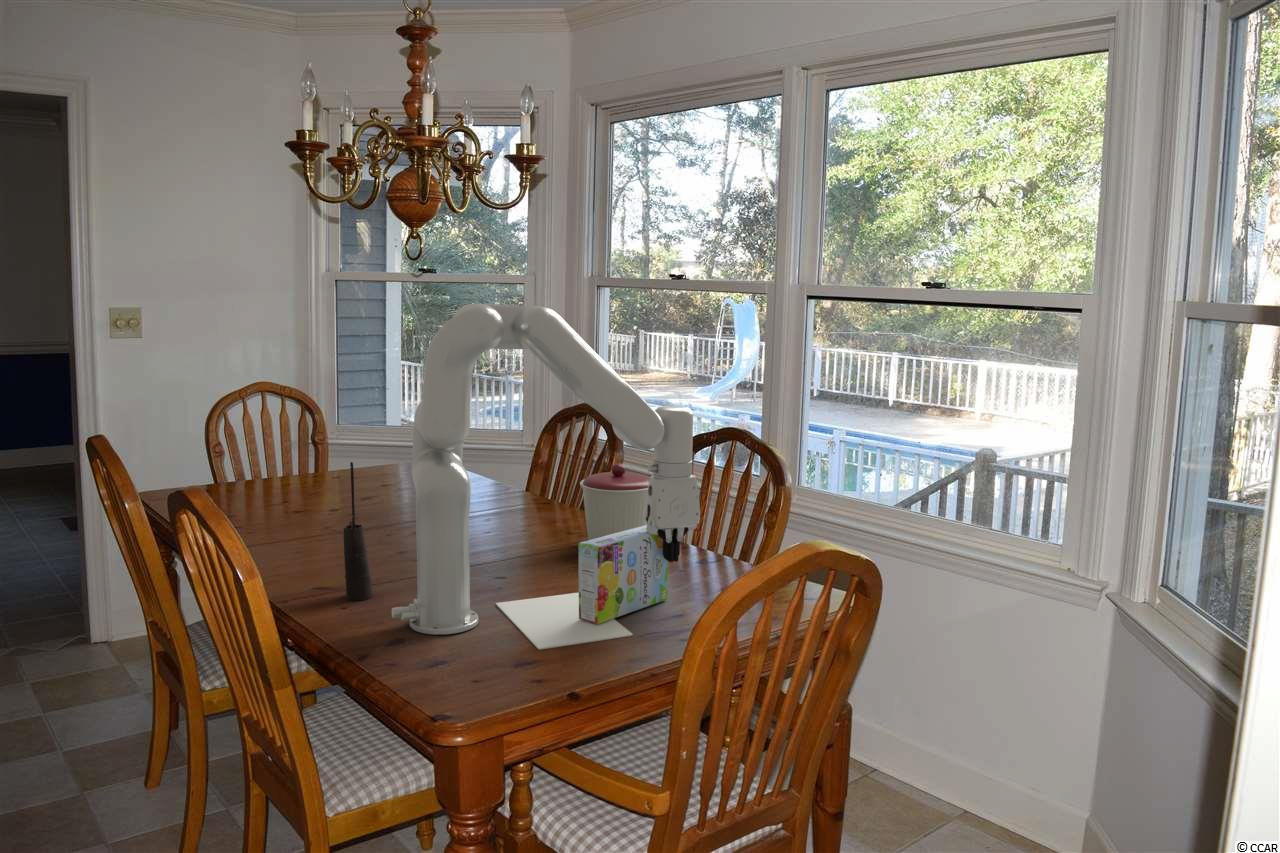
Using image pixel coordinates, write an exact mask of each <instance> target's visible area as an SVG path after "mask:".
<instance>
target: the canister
mask: <svg viewBox="0 0 1280 853" xmlns="http://www.w3.org/2000/svg"><path fill="white" fill-rule="evenodd" d="M650 478H651V477H650V476H648V475H645V474H641V473H635V472H628V471H627V467H626V466H625V464H623V463H620V462H619V463H614V464H613V465H611V468H610V471H607V472H606V471H605V472H598V473H595V474H594V473H593V474H590V475H588V476H586V478H584V479H582V480H581V481H580V482H579V485H580V487H581V488H582V494H583V495H582V496H583V503H584V504H583V505H584V515H585V521H586V522H585V523H586V524H585V525H586V530H587V539H588V540H592V539H595V538H599V537H603V536H607V535H611V534H614V533H618V532H622V531H626V530H630V529H634V528H637V527H641V526H645V525H647V522H646V500H647V492H648V486H649V481H650Z"/></svg>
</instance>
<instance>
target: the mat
mask: <svg viewBox="0 0 1280 853" xmlns="http://www.w3.org/2000/svg"><path fill="white" fill-rule="evenodd" d="M495 605H496V607H497V608H499V610H500V611H501V612H502V613H503V614H504V615H505V616H506V617H507V618H508V619H509V620H510V621H511V622H512V623H513V624H514V625H515V626H516V627H517V629H519V631H520V632H521V633H522V634H523V635H524V636H525V637H526V638H527V639H528V640H529V642H531V643H532V645H533V646H535V648H536V649H537V650H539V651H541V650H546V649H547V650H548V649H553V648H561V647H566V646H572V645H573V646H574V645H580V644H586V643H593V642H600V641H605V640H606V641H607V640H612V639H620V638H626V637H627V638H628V637H633V635H634V634H633V633H632V632H631V631H630V630H628V629H627V628H626V627H625V626H624V625H622V624H621V623H619V622H618V621H617V620H616V618H614V619H611V620H608V621H606V622H603V623H600V624H596V623H593V622H589V621H585V620H582V619H579V592H571V593H564V594H557V595H549V596H540V597H534V598H525V599H517V600H510V601H502V602H500V601H499V602H495Z"/></svg>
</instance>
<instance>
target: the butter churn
mask: <svg viewBox="0 0 1280 853" xmlns="http://www.w3.org/2000/svg"><path fill="white" fill-rule="evenodd" d="M349 463H350V487H351V489H350V490H351V511H352V512H351V516H352V517H351V521H350V522H349V524H347V525H345V526H343V528H342V529H343V555H344V570H345V575H344V578H345V594H346V596H345V598H346V599H347V600H348V601H355V602H357V601H366V600H368V599H371V598H372V597H373V596H374V595H373V584H372V583H373V582H372V578H371V576H372V575H371V570H370V565H369V559H368V558H369V557H368V550H367V546H366V540H365V539H366V538H365V532H364V527H363V524H357V523H356V509H355V480H354V479H355V478H354V476H355V473H354V463H353V462H352V461H351V462H349Z"/></svg>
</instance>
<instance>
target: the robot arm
mask: <svg viewBox="0 0 1280 853" xmlns="http://www.w3.org/2000/svg"><path fill="white" fill-rule="evenodd" d="M492 349H493V350H494V349H495V350H528V351H529V352H530V353H531V354H533V356H534V357H535V358H537V360H538V361H539V362H540V363H541V364H543V365H544V367H546V369H548V370H549V371H550V373H551V374H553V376H554V377H556V379H558V381H559V382H561V384H563V386H565V388H566V389H568V391H569V392H571V393H572V394H573V395H574V396H576V398H578V399H579V400H581V401H582V402H584V403H586V404H587V405H589V406H590V407H591V408H593V409H594V410H595V411H596V412H598V413H599V414H600V415H601V416H602V417H604V419H605V420H607V422H609V424H611V425H612V426H611V427H612V430H613V433H614V434H615V436H617V438H618V439H619V440H621V441H622V442H624V443H626V444H627V445H629V446H631V447H633V448H634V449H635V450H639V451H650V450H653V460H652V464H649V465H647V471H648V473H652V474H653V475H651V476H650V477H649V478H650V481H649V486H648V492H647V500H646V522H647V527H646V532H648V533H650V534H656V535H658V536H659V537H660V538H661V539H662V540H663V556H664V559H666V560H667V561H668V562H670V563H674V562H675V563H676V562H678V561H679V556H680V553H681V542H682V541H683V538H684V537H685V535H686V534H687V533H688V532H691V531H693V530H696V529H697V528H698V525H699V523H700V519H701V518H700V517H701V510H700V509H701V508H700V494H699V487H698V486H699V485H698V481H697V476H696V475H694V474H693V443H694V440H693V439H694V435H693V434H694V413H693V411H692V409H691V408H689V407H688V406H685V405H684V406H683V405H663V406H662V405H661V406H650V404H648V402H646V401H645V399H643V397H642V396H641V395H640V394H639V393H638V392H637V391H636V390H634V388H632V387H631V385H629V383H628V382H626V381H625V380H624V379H623V378H622V377H621V376H620V375H619V374H618V373H617V372H616V371H615V370H614V369H613V368H612V367H611V366H610V365H609V364H608V363H607V362H606V361H605V360H604V359H603V358H602V357H601V356H600V355H599V354H598V353H597V352H596V351H595V350H594V349H593V348H592V347H591V346H590V345H589V344H588V343H587V342H586V341H585V340H584V338H582V337H581V335H579V333H577V331H575V329H574V328H572V326H570V324H568V322H567V321H565V319H564V318H563V317H562V316H561V315H559V314H558V313H557V312H556V311H555V310H553V309H552V308H549V307H546V306H540V305H507V304H490V303H489V304H488V303H476V302H475V303H473V302H472V303H469V304H465V305H463V306H461V307H460V308H459V309H458V310H457V311H456V312H455V313H454V315H453V316H452V318H450V319H449V320H447V321H446V322H445V323H444V324H443V325H442V326H440V328H439V329H438V331H437V332H436V333H435V335H434V336H433V338H432V340H431V341H430V343H429V346H428V349H427V352H426V354H425V355H426V357H425V362H424V370H423V371H424V372H423V373H424V374H423V381H422V382H423V383H422V398H421V400H420V402H419V404H418V405H417V406H416V410H415V412H414V416H413V417H414V418H413V437H412V457H411V477H412V482H413V484H414V488H415V496H416V499H415V500H416V502H415V503H416V505H415V506H416V510H415V512H416V513H415V515H416V516H415V518H416V519H415V520H416V521H415V522H416V525H415V530H416V531H415V534H416V535H415V537H416V538H415V539H416V571H417V573H416V578H417V579H416V580H417V583H416V584H417V598H413V603H409V604H408V606H396V607H392V608H391V617H392V619H397V618H398V619H399V618H401V621H406V620H407V621H408V620H409V627H410V628H411V629H412V630H413V631H415V632H418V633H420V634H425V635H435V636H436V635H437V636H438V635H440V636H441V635H453V634H458V633H459V634H460V633H464V632H466V631H469V630H472V629H473V628H475V627H476V626H477V625H478V623H479V614H478V613H477V612H476V611H474V610H473V609H471V593H470V592H471V590H470V589H471V588H470V587H471V583H470V582H471V581H470V580H471V578H470V574H471V573H470V568H471V566H470V508H471V507H470V506H471V494H472V493H471V482H470V478H469V474H468V472H467V470H466V468H465V467H464V465H463V456H464V442H465V441H466V439H467V437H468V435H469V433H470V430H471V429H470V428H471V389H472V378H473V371H474V367H475V364H476V362H477V360H478V359H479V357H480V356H482V354H484V353H486V352H488V351H490V350H492Z"/></svg>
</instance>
